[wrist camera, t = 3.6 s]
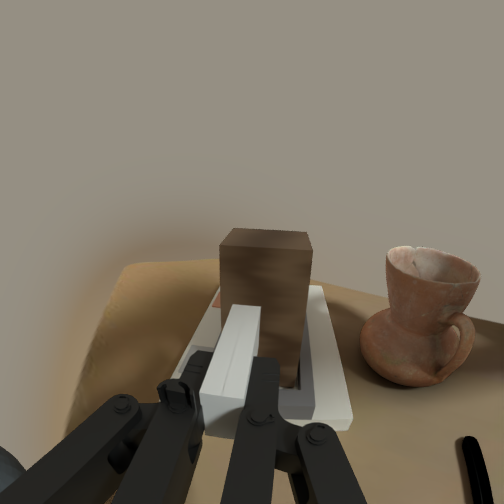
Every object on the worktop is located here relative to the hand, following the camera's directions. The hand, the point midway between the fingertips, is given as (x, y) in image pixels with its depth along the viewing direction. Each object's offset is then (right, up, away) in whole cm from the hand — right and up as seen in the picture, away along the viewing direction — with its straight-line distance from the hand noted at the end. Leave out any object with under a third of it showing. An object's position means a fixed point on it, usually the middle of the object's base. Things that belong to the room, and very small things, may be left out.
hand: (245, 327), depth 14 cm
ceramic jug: (+20, -11, +14) cm, 27 cm away
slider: (+1, -8, +13) cm, 15 cm away
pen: (+20, -17, -5) cm, 27 cm away
